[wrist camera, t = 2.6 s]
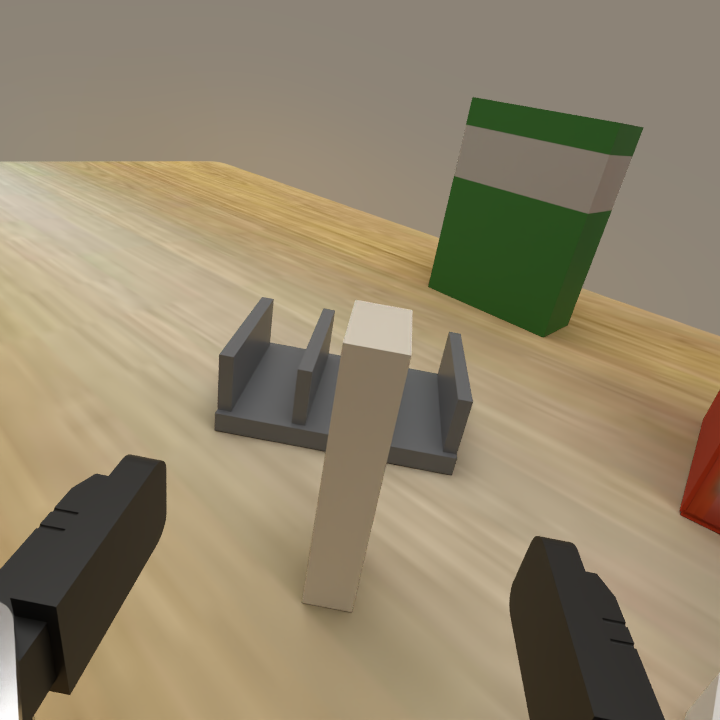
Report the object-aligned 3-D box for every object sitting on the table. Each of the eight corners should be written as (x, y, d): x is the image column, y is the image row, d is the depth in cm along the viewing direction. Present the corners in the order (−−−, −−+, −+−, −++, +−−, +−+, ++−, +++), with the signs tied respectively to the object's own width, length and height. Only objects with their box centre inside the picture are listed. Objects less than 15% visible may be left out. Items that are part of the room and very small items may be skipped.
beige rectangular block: (316, 535, 30) (355, 299, 23) (360, 543, 30) (412, 310, 23) (301, 602, 26) (342, 342, 19) (351, 612, 26) (411, 355, 19)
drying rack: (259, 355, 48) (263, 295, 45) (444, 389, 48) (460, 331, 45) (214, 430, 37) (216, 357, 34) (451, 475, 37) (473, 405, 34)
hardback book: (428, 286, 72) (472, 97, 61) (457, 279, 77) (502, 102, 66) (543, 337, 63) (621, 123, 51) (567, 325, 68) (643, 127, 56)
